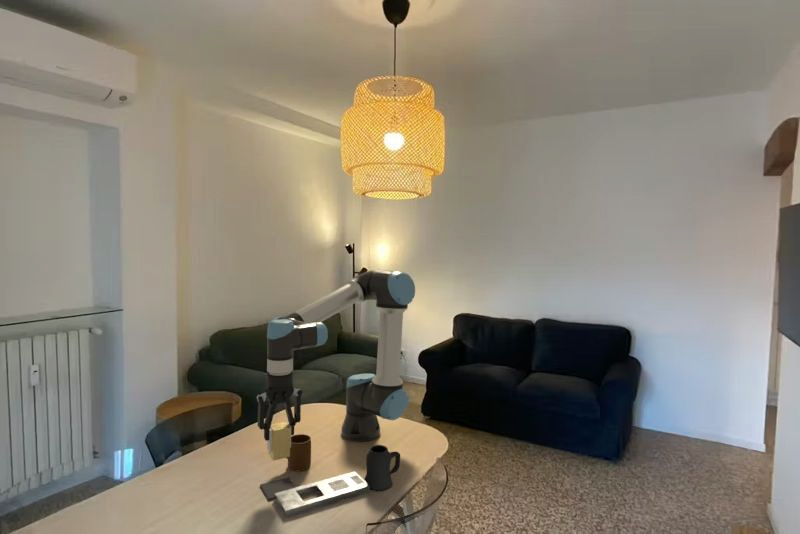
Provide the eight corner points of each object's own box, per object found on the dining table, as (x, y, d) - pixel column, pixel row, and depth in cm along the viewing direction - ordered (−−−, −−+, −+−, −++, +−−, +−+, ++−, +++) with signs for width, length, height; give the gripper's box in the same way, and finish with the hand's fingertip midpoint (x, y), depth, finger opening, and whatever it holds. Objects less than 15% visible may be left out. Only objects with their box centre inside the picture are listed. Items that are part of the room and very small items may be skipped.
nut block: (284, 450, 144) (284, 421, 143) (289, 456, 140) (290, 427, 139) (268, 453, 141) (268, 424, 141) (273, 460, 137) (273, 430, 136)
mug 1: (276, 476, 149) (276, 447, 148) (272, 465, 156) (272, 438, 155) (313, 469, 154) (313, 441, 153) (307, 459, 161) (307, 432, 160)
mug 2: (371, 494, 139) (372, 458, 139) (358, 480, 147) (359, 446, 147) (405, 484, 146) (406, 449, 145) (391, 471, 153) (392, 438, 153)
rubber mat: (288, 478, 147) (288, 476, 147) (298, 492, 140) (298, 490, 140) (260, 486, 143) (260, 484, 143) (268, 500, 135) (268, 498, 135)
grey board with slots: (354, 477, 149) (355, 471, 149) (369, 492, 141) (369, 485, 141) (274, 500, 135) (274, 493, 135) (285, 517, 127) (285, 510, 127)
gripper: (304, 365, 147) (303, 437, 148) (245, 372, 137) (245, 449, 139) (313, 371, 141) (312, 446, 142) (252, 379, 131) (251, 459, 132)
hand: (279, 447), depth 140 cm, fingers closed on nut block, 5 cm apart
